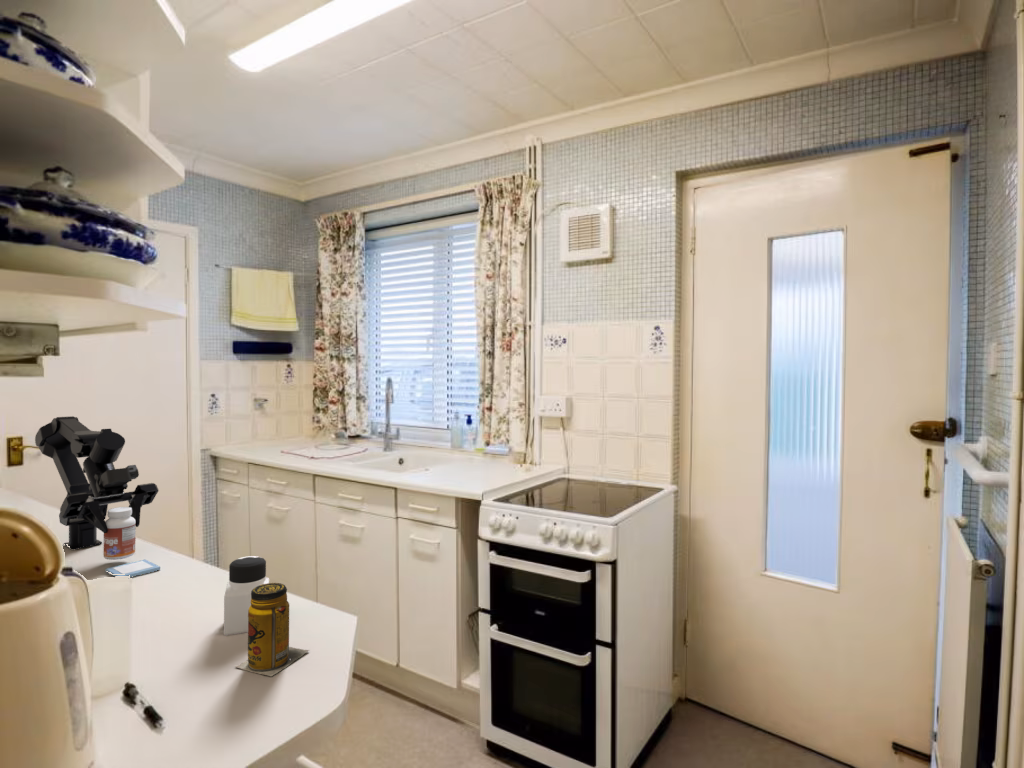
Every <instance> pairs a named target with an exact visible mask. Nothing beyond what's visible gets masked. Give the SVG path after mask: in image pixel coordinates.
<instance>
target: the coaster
mask: <svg viewBox="0 0 1024 768" xmlns="http://www.w3.org/2000/svg"><path fill="white" fill-rule="evenodd" d="M157 570H160V571H161V566H159V565H157V564H155V563H153V562H152V561H149V560H147V559H141V560H136V561H131V562H128V563H123V564H120V565H115V566H111V567H108V568H105V572H106V571H108V572H111V573H112V574H125V575H113V576H129V575H130V577H132V576H136V575H140V576H142V575H141V574H144V575H146V574H145V573H148V574H150V572H152V573H154V571H156V572H158V571H157ZM113 576H112V577H113ZM136 577H137V576H136ZM132 578H133V577H132Z"/></svg>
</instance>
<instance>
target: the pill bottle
mask: <svg viewBox="0 0 1024 768" xmlns="http://www.w3.org/2000/svg"><path fill="white" fill-rule="evenodd" d="M131 515H132V508H131V507H129V506H119V507H112V508H110V509H107V517H108V519H105V523H106V525H107V529H108V531H107V533H103V551H102V553H103V554H102V555H103V558H104V559H105V560H109V561H110V560H111V561H112V560H123V559H127V558H130V557H132V556H133V555H135V554H136V535H137V534H136V532H137V531H136V530H137V529H136V528H137V527H136V520H135V519H134V518H133V517H131Z"/></svg>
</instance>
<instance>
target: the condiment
mask: <svg viewBox="0 0 1024 768" xmlns="http://www.w3.org/2000/svg"><path fill="white" fill-rule="evenodd" d="M287 592H288V588H287V586H286V584H284V583H279V582H269V583H267V584H262V585H259V586H257V587H255V588H254V589H253V590H252V591H251V606H250V607H249V610H248V632H247V660H245V661H243V662H241V663H240V664H238V665H235V666H234V667H235V668H238V669H241V670H243V671H246V672H251V673H255V674H258V675H263V676H264V675H265V676H268V677H273V676H274V675H276V674H278V673H279V672H281V671H282V670H284V669H285V668H287V667H288V666H290V665H291V664H292V663H294V662H295V661H296V660H299V658H301V657H302V656H303V657H304V655H305V654H306V653H309V651H310V649H302V648H297V647H296V648H295V647H293V646H290V603H289V601H288V595H287V594H288V593H287Z"/></svg>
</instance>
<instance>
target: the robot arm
mask: <svg viewBox="0 0 1024 768" xmlns="http://www.w3.org/2000/svg"><path fill="white" fill-rule="evenodd" d="M34 437H35V438H34V443H35V446H36V447H38V448H39V450H40V453H41V454H42V455H44V456H46V457H49V458H51V459H52V460H53V463H54V465H55V468H56V470H57V471H58V474H59V476H60V479H61V481H62V484H63V485H64V488H65V491H66V492H67V494H66V496H65V498H64V500H63V501H62V504H61V506H60V508H59V514H58V518H59V523H60V524H61V525H64V526H65V527H68V542H64V543H63V546H64V544H65V546H64V547H66V546H67V545H66V544H68V546H70V548H71V549H75V550H79V549H84V548H88V547H93V546H94V547H95V546H99V545H102V544H103V542H102V541H101V540H99V539H98V538H97V535H98V534H97V533H98V532H97V531H98V530H99V531H101V532H102V533H103V534H104V533H107V531H108V529H107V525H106V523H105V521H106V518H107V515H108V506H109V505H111V504H115V503H123V502H128V507H131V508H132V515H131V517H133V518H134V519H135V520H136V528H139V526H140V521H141V508H142V507H143V506H145V505H146V506H147V505H150V504H152V503H153V501H154V500H155V498H156V496H157V494H158V492H159V491H160V490H159V488H158V485H157V484H156V483H154V482H151V483H142V484H137V486H136V487H135V489H134V490H133V491H127V492H125V490H126V489H127V488H128V487H129V485H128V483H129V482H132V481H133V480H136V479H137V478H138V477H139V476H140V473H139V472H140V471H139V469H138V467H137V465H136V464H132V465H130V464H129V465H127V466H126V467H123V468H122V467H120V468H116V467H115V465H114V462H117V460H118V459H119V456H120V455H121V452H122V450H123V448H124V446H125V444H126V439H125V437H123V436H122V435H121V434H120V433H117V432H115V431H113V430H112V428H102V429H100V430H98V431H97V430H92V429H89V428H88V427H87V426H86V425H84V424H83V423H82V422H80V421H79V417H77V416H73V415H72V416H56V417H54V418H53V419H52V420H51V421H50V422H48V423H46V424H45V425H42V426H40V428H39V429H38V430H37V432H36V434H35V436H34ZM79 458H84V461H83V462H82V466H83V468H82V466H81V464H80V461H79ZM85 474H86V475H85ZM97 529H98V530H97ZM78 548H79V549H78ZM71 549H70V550H71Z"/></svg>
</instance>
